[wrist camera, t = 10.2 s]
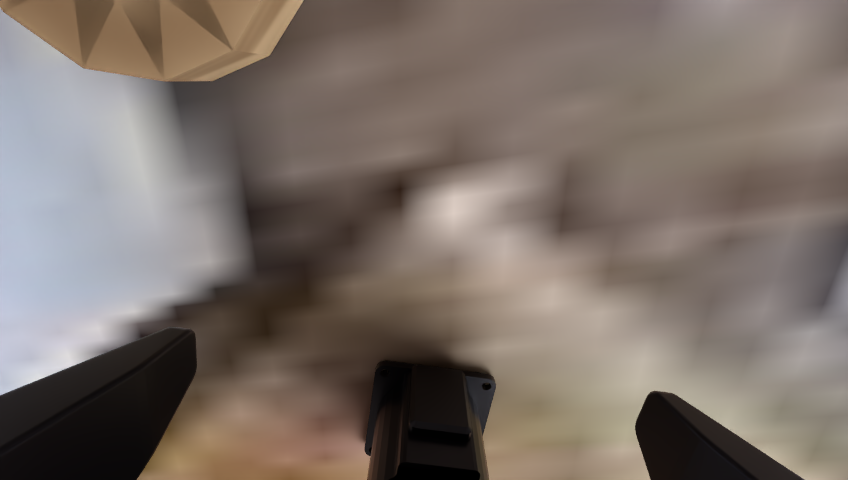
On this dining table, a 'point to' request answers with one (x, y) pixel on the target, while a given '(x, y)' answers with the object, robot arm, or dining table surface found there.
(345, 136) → the dining table surface
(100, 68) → the wooden bead
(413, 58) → the dining table surface
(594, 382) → the dining table surface
